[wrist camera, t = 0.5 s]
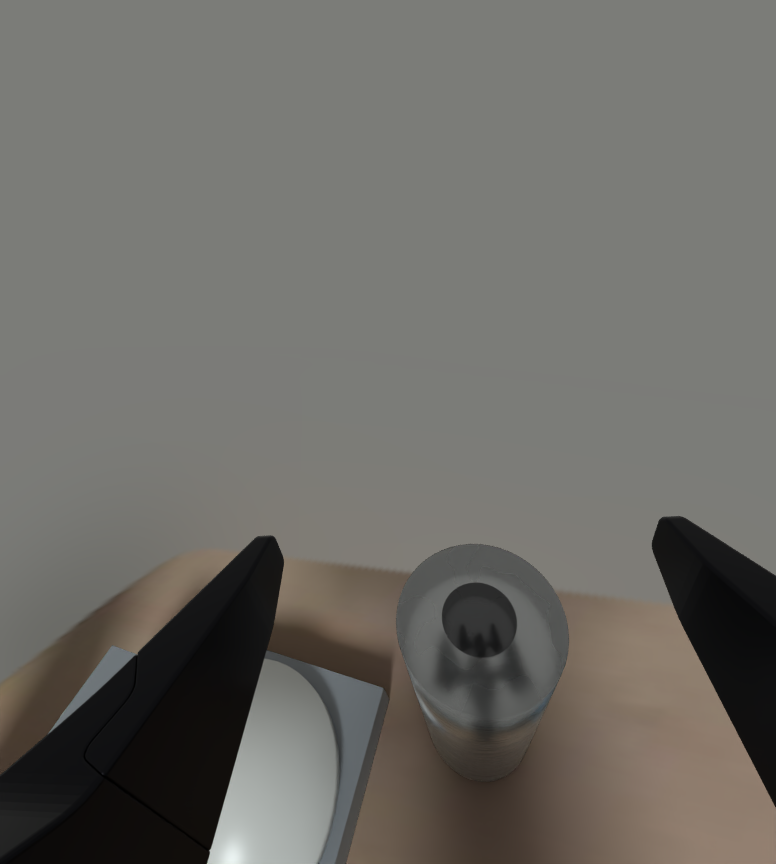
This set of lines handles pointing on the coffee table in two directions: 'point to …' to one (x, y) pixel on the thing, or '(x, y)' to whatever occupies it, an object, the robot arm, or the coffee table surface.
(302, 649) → the coffee table surface
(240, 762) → the scale
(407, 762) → the coffee table surface
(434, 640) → the cylinder
